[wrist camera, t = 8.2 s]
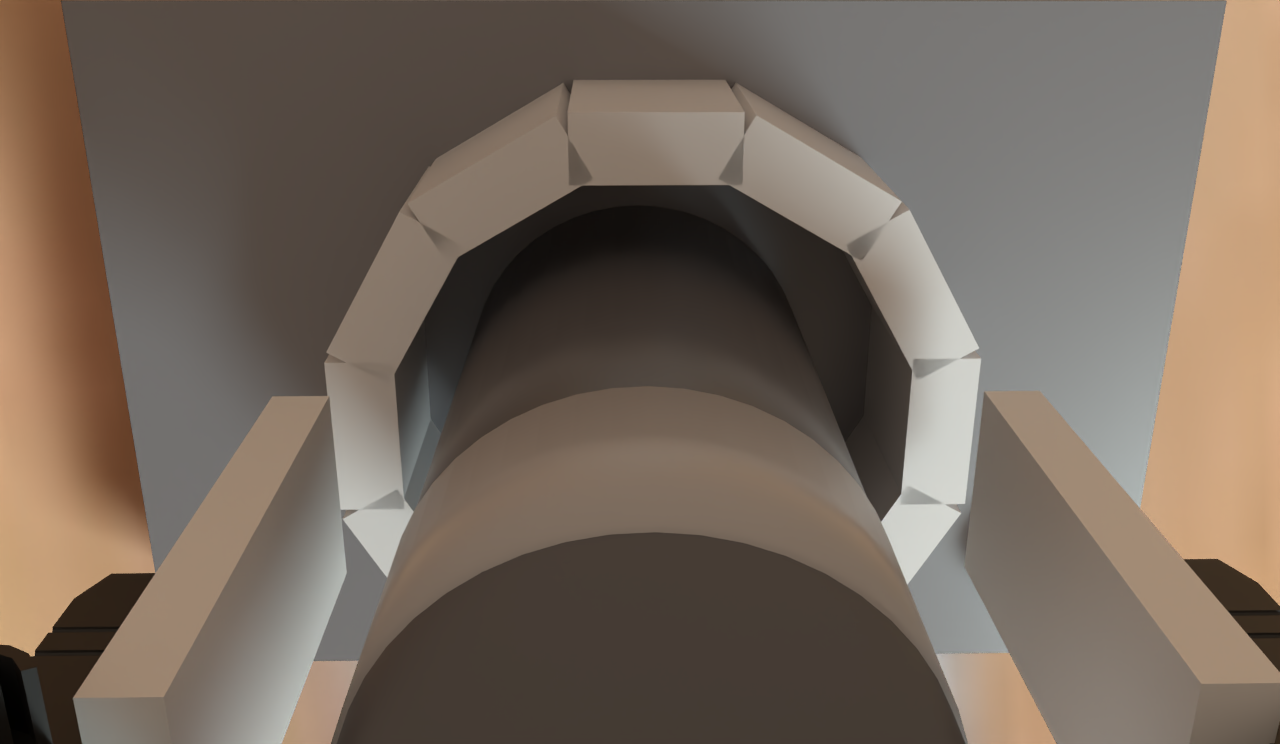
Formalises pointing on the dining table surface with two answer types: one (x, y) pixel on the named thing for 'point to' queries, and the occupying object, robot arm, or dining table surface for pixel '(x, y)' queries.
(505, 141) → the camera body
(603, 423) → the lens
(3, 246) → the dining table surface
